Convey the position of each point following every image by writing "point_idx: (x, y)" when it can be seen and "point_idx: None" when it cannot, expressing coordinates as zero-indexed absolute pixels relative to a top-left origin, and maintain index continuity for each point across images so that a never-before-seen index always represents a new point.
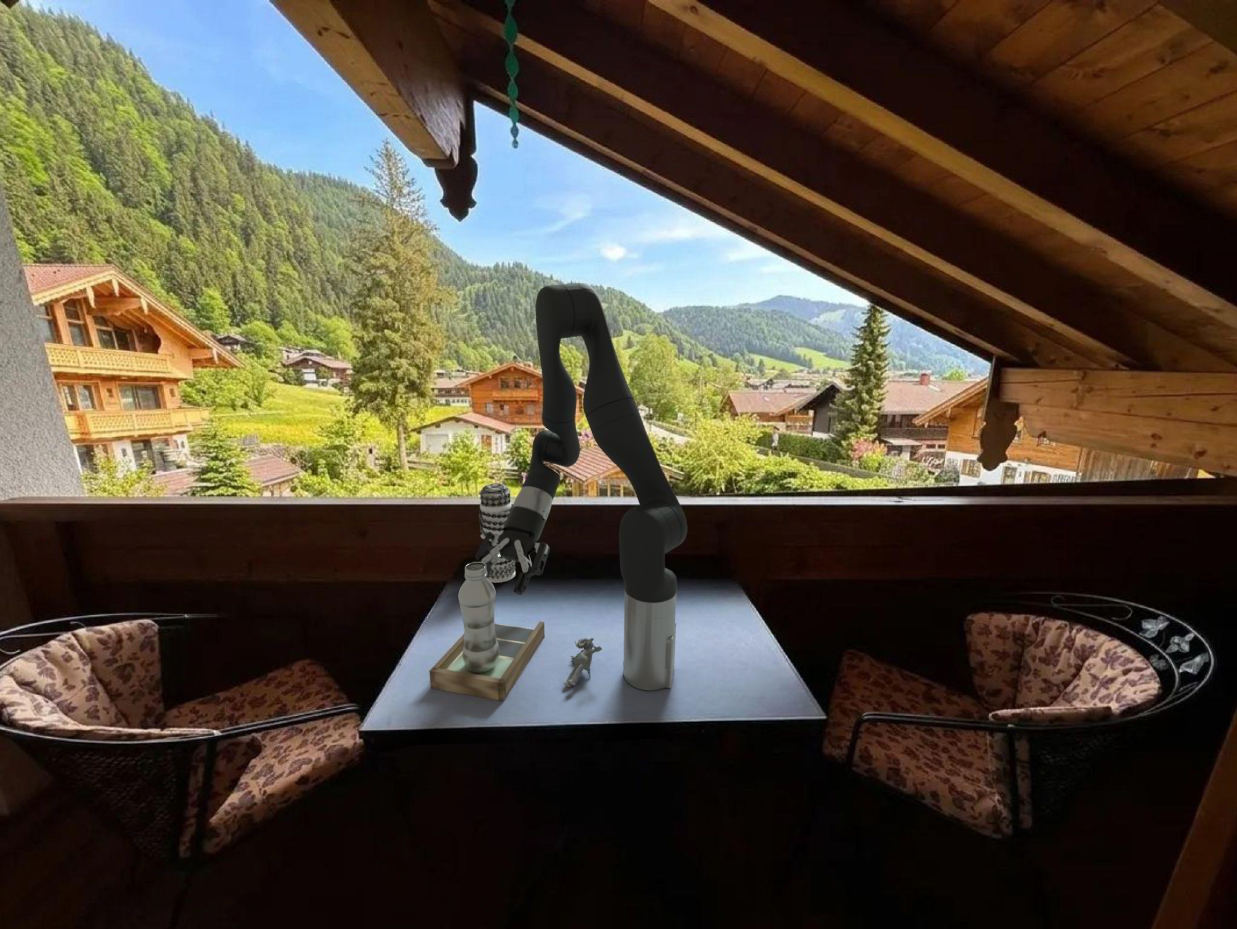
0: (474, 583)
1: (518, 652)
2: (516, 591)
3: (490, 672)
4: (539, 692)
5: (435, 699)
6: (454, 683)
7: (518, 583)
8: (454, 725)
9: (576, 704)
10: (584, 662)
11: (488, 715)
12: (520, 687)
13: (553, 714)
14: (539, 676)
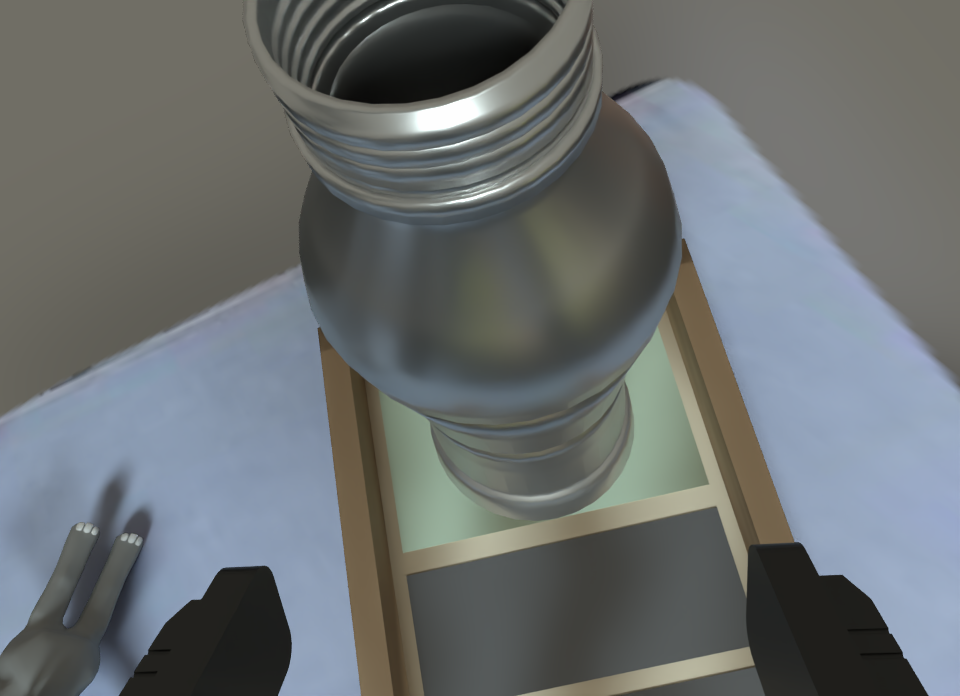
0: (398, 51)
1: (371, 546)
2: (230, 569)
3: None
4: (236, 464)
5: None
6: None
7: (196, 627)
8: None
9: (72, 473)
10: (16, 639)
11: None
12: (326, 453)
13: (139, 391)
14: (281, 552)
